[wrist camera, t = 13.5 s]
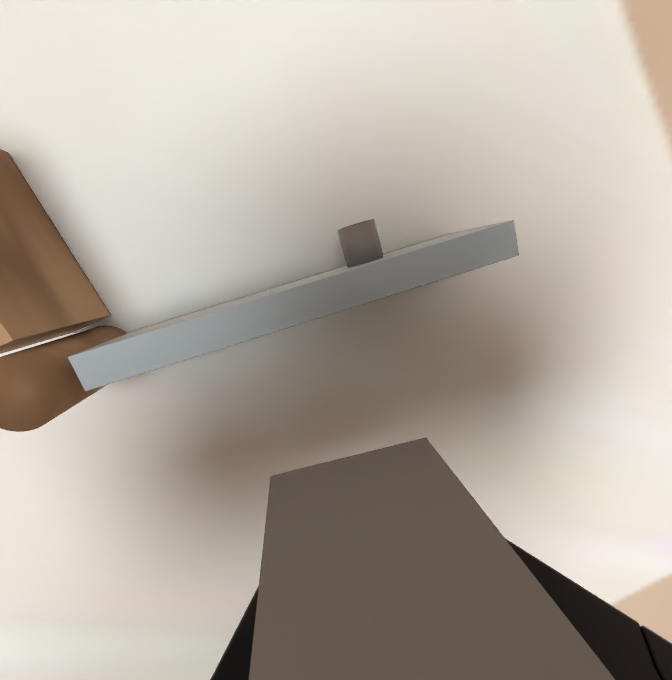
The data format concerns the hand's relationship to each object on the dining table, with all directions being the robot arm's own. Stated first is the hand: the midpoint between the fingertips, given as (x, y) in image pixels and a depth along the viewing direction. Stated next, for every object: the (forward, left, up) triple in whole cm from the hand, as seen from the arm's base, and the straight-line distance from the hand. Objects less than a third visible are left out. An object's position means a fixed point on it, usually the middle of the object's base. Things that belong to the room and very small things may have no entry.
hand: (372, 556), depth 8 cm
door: (+6, 0, -7) cm, 9 cm away
